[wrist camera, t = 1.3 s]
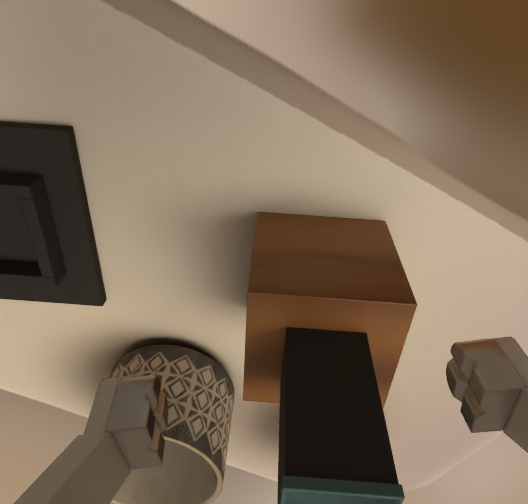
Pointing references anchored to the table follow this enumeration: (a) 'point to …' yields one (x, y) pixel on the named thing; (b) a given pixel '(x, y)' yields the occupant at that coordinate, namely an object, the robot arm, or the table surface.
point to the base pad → (45, 219)
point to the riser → (323, 293)
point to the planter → (182, 426)
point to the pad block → (332, 423)
